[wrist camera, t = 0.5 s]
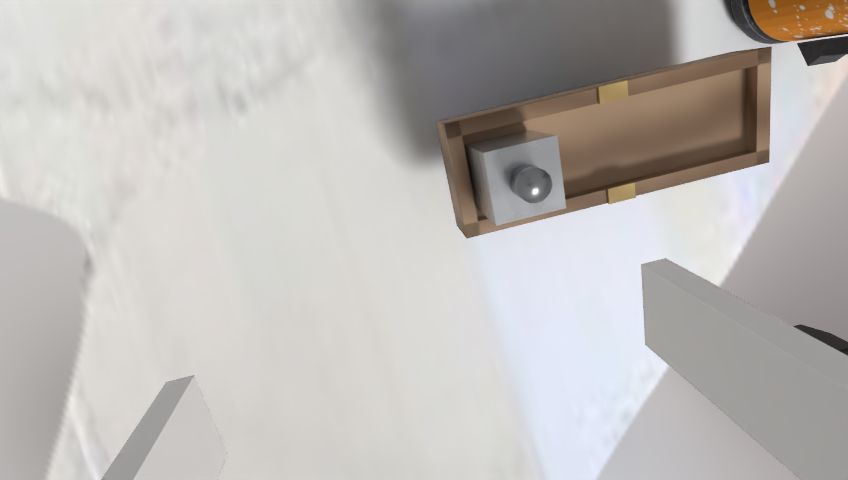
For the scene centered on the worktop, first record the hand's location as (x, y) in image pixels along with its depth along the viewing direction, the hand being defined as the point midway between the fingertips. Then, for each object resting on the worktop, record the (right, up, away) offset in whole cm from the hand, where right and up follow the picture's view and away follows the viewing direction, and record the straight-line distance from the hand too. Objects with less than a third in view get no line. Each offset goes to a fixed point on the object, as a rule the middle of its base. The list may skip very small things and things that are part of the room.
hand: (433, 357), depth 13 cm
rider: (+5, +8, +19) cm, 21 cm away
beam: (+12, +12, +26) cm, 31 cm away
